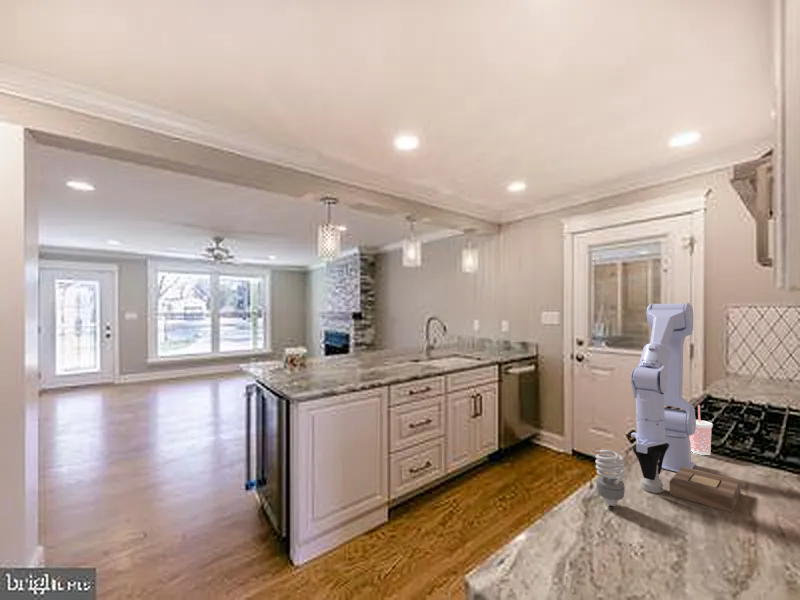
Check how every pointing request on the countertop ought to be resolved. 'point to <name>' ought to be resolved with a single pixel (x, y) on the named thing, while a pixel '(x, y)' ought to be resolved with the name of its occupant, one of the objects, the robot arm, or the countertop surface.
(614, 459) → the light bulb
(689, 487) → the socket block
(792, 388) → the countertop surface
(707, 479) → the brass plunger
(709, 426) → the beverage cup
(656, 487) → the rook chess piece
